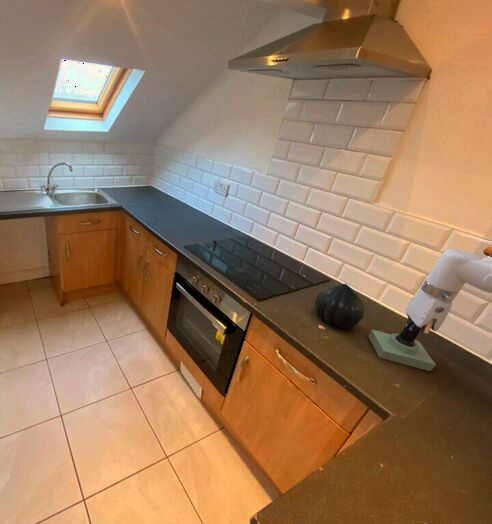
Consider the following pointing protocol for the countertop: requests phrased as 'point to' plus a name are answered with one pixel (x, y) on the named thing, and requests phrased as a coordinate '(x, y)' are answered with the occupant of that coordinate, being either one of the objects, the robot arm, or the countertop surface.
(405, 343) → the button
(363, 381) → the countertop surface
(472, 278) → the robot arm
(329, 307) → the squash
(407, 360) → the knob plate
